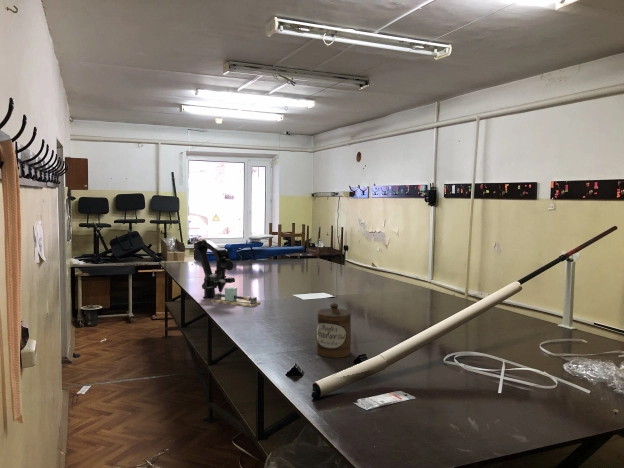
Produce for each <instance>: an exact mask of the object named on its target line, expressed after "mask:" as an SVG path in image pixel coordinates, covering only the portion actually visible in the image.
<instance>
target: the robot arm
mask: <svg viewBox="0 0 624 468" xmlns="http://www.w3.org/2000/svg"><path fill="white" fill-rule="evenodd" d="M193 249H194V251H195V253H196V255H197V256H199V259H200V262H201V266H202V270H203V272H204V279H203V282H202V284H201V289H202V290H204V293H203V296H202V298H204V299H210V300H212V299H215V294H216V289H218V291H219V292H218V293H222V292H223V290H224V289H225V286H226V285H227V284H232V283H235V282H236V279H235V277H227V275H226V272H227V271H232V270H233V269H234V263H233V262H232V260H231V258H230V255H229V253H228V251H227V249H226V248H223V247H220V246H218V245H217V244H215V243H214V242H213V241H212V240H211V239H209V238H208V239H202V240H201V241H197V242H196V243H194V244H193ZM208 249H209V251H211V252H212V253H213V256H214V257H215V259H214V262H215V263H216V264H215V270H214V273H213V270H212V267H211V264H210V261H209V258H208V254H207V253H208Z"/></svg>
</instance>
